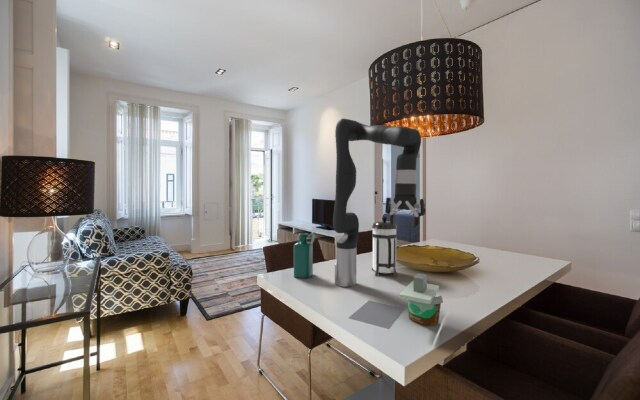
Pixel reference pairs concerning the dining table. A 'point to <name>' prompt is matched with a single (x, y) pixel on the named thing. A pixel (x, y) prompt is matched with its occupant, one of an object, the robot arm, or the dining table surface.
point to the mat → (377, 314)
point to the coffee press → (384, 247)
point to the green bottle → (303, 256)
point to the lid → (420, 290)
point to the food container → (425, 311)
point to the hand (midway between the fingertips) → (404, 226)
